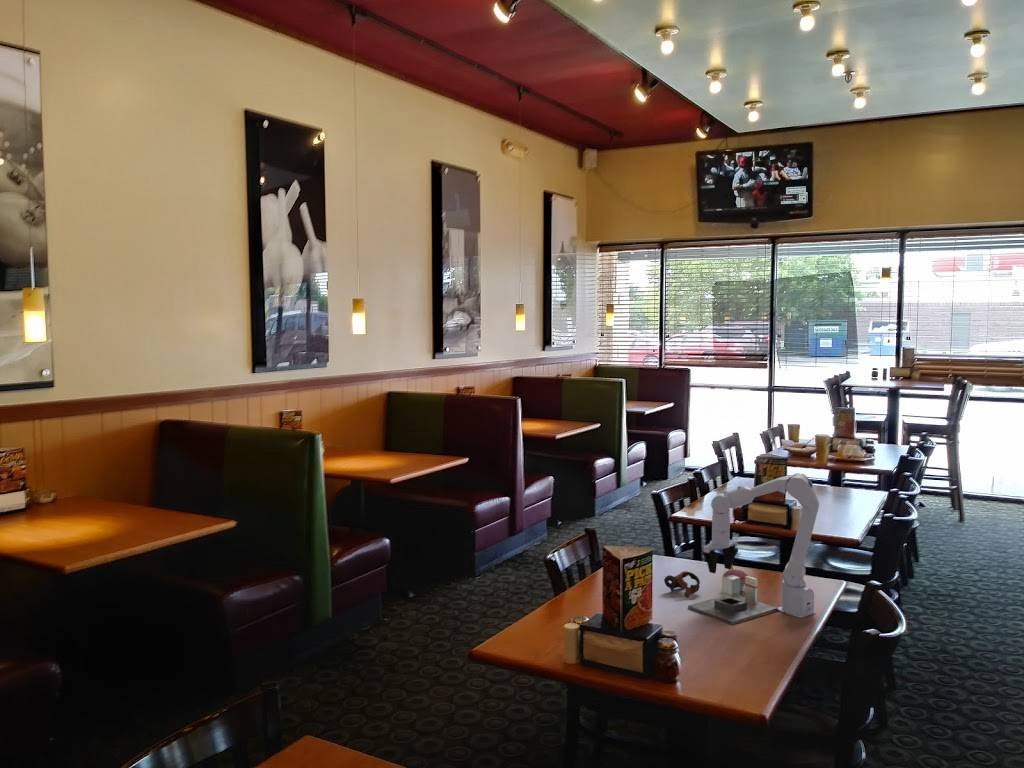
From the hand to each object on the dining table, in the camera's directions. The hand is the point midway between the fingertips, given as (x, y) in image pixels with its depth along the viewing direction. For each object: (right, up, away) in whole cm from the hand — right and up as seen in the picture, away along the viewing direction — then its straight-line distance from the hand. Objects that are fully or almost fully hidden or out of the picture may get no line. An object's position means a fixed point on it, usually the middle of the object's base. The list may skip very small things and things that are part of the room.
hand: (720, 570), depth 273 cm
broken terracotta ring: (-11, -10, +10) cm, 18 cm away
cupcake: (+9, -10, +13) cm, 18 cm away
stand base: (+1, -11, -8) cm, 14 cm away
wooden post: (+1, -6, -8) cm, 11 cm away
